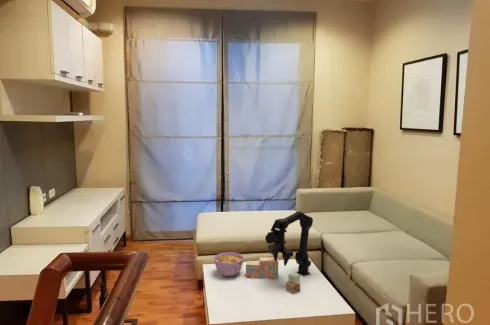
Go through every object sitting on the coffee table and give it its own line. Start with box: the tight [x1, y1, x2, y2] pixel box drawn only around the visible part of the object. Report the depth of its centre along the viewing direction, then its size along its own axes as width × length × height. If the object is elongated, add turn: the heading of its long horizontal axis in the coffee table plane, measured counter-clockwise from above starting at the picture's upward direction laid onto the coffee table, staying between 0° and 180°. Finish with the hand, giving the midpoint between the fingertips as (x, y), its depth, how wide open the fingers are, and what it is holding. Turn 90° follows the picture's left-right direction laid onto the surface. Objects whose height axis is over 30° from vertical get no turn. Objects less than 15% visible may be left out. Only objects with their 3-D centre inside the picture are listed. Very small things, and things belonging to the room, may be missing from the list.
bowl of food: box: [213, 251, 245, 278], centre depth 256 cm, size 20×20×12 cm
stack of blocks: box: [245, 257, 279, 280], centre depth 252 cm, size 21×6×12 cm, turn 84°
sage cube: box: [288, 271, 301, 283], centre depth 244 cm, size 5×5×5 cm
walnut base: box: [285, 280, 301, 295], centre depth 230 cm, size 6×6×5 cm
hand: (280, 263), depth 241 cm, fingers open, 9 cm apart
